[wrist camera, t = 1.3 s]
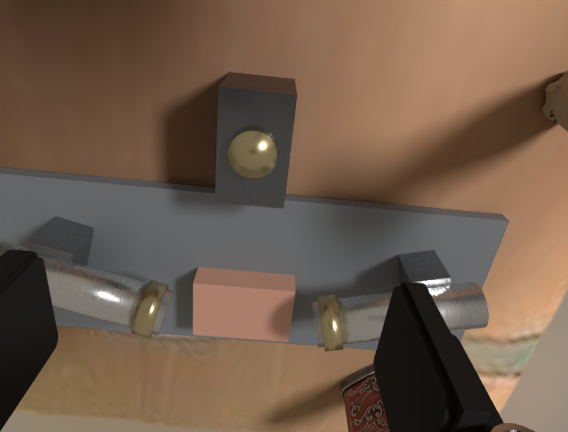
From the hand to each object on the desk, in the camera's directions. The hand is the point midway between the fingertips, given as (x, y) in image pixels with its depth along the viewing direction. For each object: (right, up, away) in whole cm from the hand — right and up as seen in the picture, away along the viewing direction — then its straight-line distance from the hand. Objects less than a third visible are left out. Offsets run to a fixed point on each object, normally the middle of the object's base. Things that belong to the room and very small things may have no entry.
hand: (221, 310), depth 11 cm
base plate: (-1, -1, +20) cm, 21 cm away
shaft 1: (-11, 0, +20) cm, 23 cm away
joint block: (0, +8, +16) cm, 18 cm away
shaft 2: (+9, -2, +21) cm, 23 cm away
